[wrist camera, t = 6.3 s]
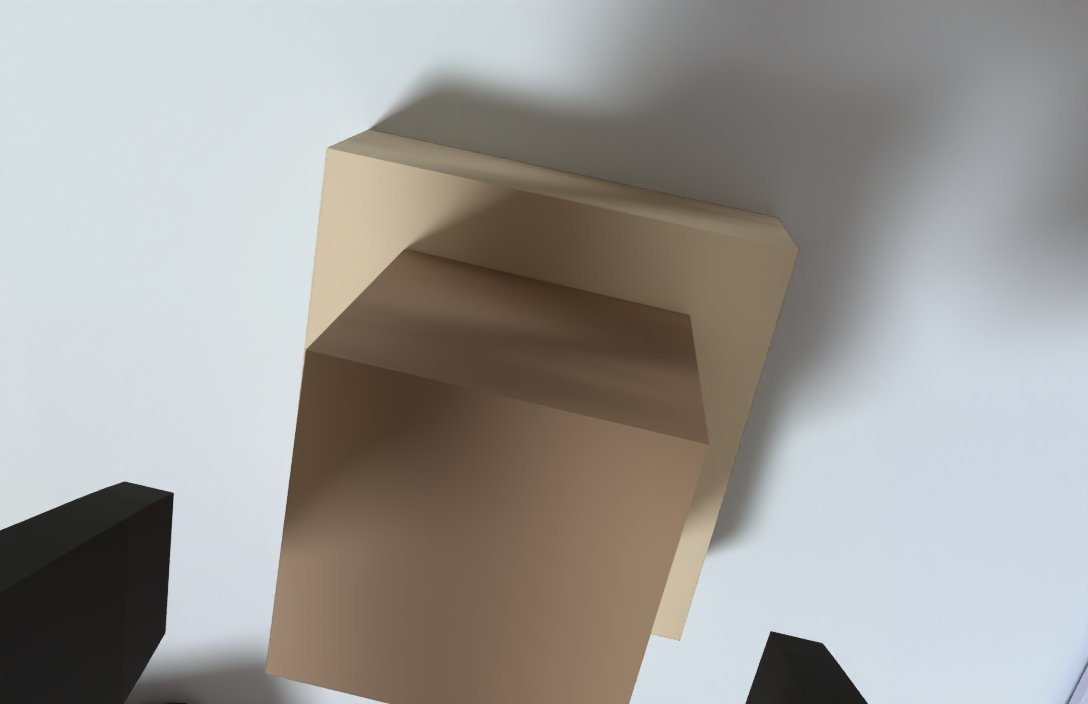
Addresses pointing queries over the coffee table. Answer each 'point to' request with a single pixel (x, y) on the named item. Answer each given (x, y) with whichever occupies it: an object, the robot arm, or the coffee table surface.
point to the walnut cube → (485, 490)
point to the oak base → (570, 272)
